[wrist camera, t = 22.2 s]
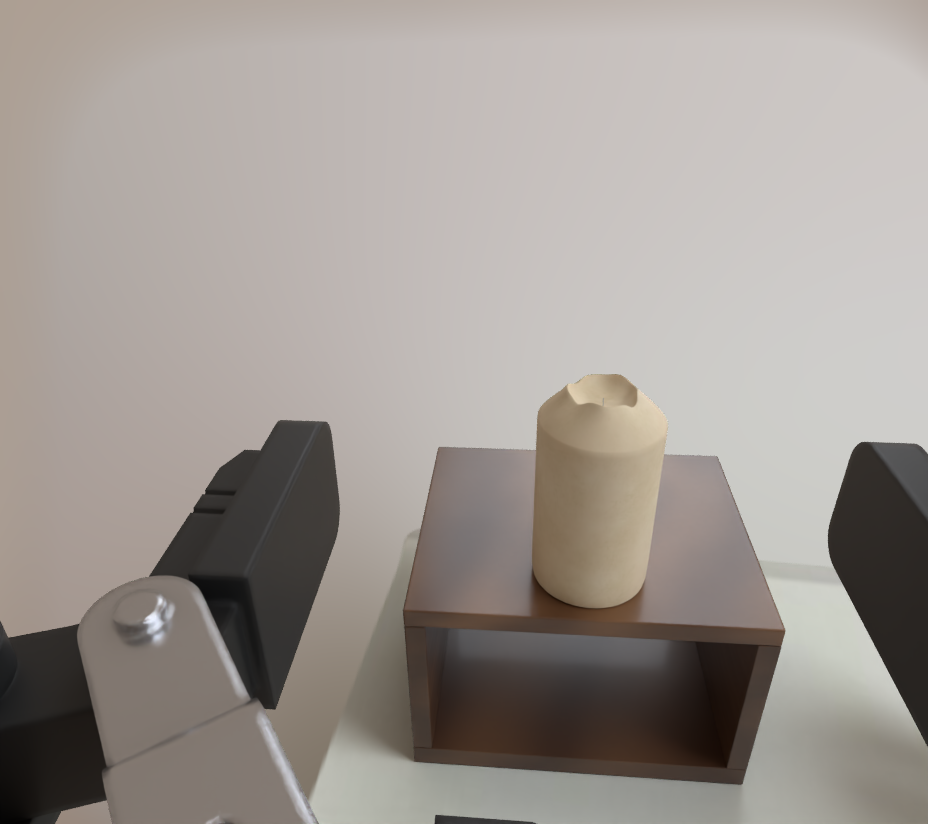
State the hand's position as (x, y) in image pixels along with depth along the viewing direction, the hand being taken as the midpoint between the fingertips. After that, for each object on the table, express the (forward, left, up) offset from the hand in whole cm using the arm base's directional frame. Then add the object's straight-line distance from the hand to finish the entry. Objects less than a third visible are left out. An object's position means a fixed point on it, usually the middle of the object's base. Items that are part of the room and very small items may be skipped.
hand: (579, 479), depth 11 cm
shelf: (+2, +22, -29) cm, 36 cm away
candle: (+2, +18, -18) cm, 25 cm away
